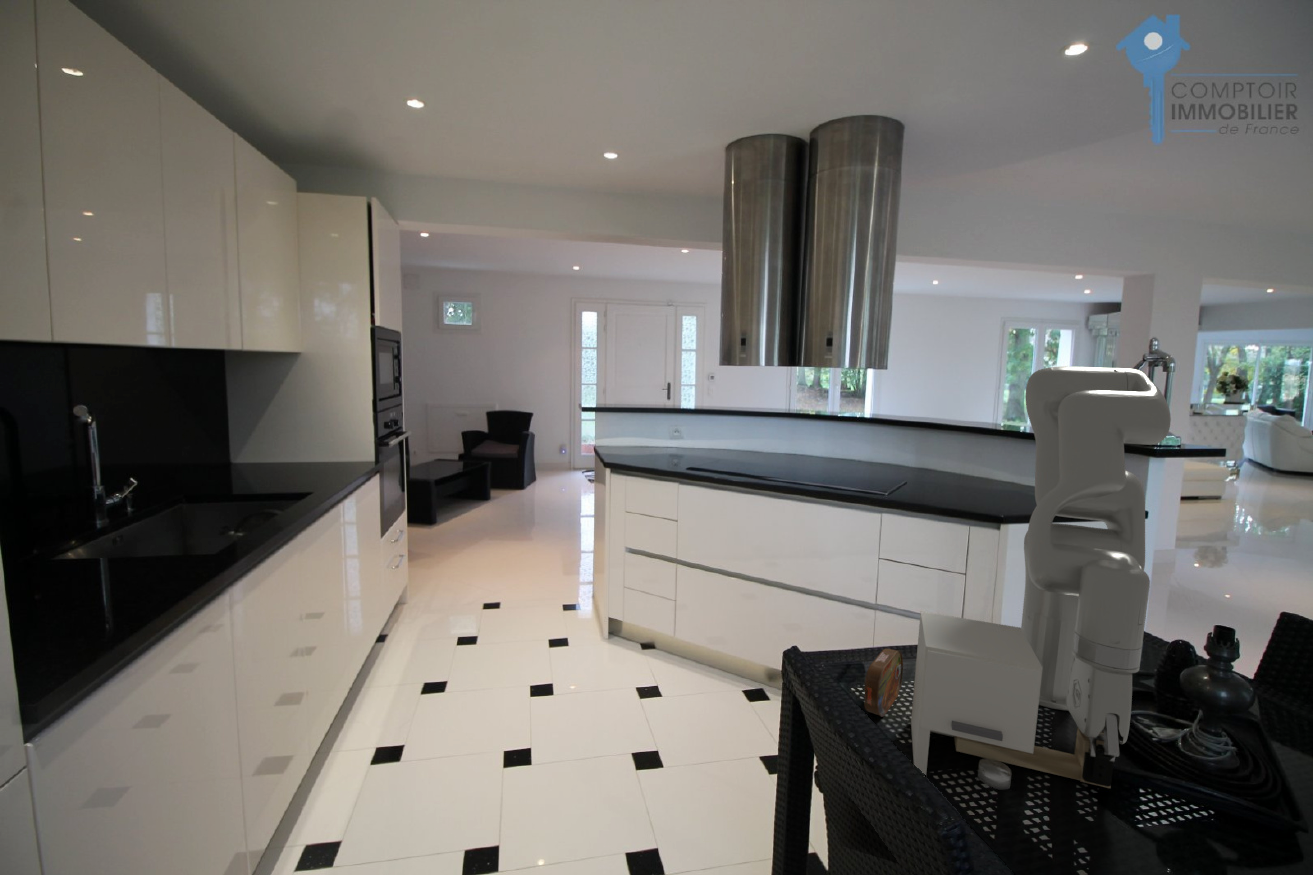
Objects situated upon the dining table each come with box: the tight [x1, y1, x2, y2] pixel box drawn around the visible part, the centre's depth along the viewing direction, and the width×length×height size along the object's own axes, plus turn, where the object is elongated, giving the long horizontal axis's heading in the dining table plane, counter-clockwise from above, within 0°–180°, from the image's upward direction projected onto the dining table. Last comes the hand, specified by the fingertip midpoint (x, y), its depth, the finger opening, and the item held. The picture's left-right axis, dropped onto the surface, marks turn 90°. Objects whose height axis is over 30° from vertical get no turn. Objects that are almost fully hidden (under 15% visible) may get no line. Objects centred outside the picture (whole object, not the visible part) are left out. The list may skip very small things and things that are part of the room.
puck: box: [977, 758, 1012, 791], centre depth 84 cm, size 4×4×2 cm
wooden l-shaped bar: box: [953, 728, 1112, 789], centre depth 87 cm, size 4×19×6 cm, turn 68°
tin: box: [863, 648, 904, 717], centre depth 103 cm, size 15×3×8 cm, turn 143°
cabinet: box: [910, 611, 1043, 776], centre depth 86 cm, size 16×14×19 cm
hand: (1091, 772), depth 84 cm, fingers closed on wooden l-shaped bar, 3 cm apart
